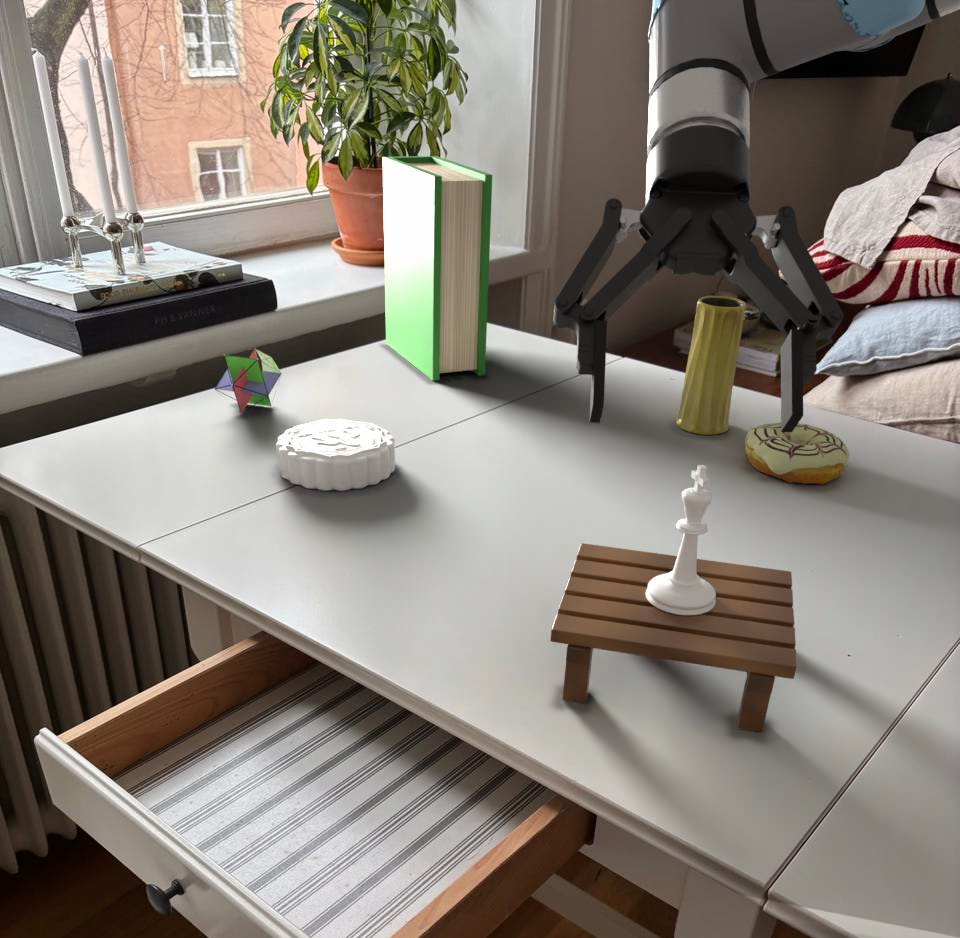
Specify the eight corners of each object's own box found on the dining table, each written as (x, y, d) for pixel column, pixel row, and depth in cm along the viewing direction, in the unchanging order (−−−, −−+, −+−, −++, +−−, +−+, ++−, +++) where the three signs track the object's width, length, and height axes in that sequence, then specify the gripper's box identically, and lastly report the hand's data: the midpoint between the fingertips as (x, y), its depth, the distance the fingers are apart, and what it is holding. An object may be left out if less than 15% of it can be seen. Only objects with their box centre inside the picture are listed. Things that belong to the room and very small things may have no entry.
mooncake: (304, 501, 95) (302, 466, 93) (261, 458, 104) (258, 425, 102) (415, 478, 100) (415, 445, 98) (365, 439, 109) (364, 408, 107)
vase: (698, 413, 120) (717, 292, 112) (739, 428, 116) (761, 303, 108) (665, 423, 116) (682, 299, 109) (706, 439, 112) (727, 311, 105)
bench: (777, 631, 78) (791, 569, 75) (780, 737, 66) (797, 669, 63) (575, 601, 80) (581, 540, 78) (544, 698, 69) (550, 631, 66)
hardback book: (484, 375, 130) (492, 174, 117) (432, 380, 127) (434, 176, 114) (434, 339, 143) (435, 155, 130) (385, 343, 141) (382, 156, 128)
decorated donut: (774, 492, 100) (781, 457, 98) (724, 453, 109) (729, 420, 107) (863, 483, 103) (871, 449, 101) (807, 446, 112) (814, 413, 110)
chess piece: (663, 619, 68) (684, 484, 62) (634, 585, 72) (651, 455, 66) (728, 611, 69) (754, 477, 64) (695, 577, 73) (717, 449, 68)
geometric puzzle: (255, 407, 110) (270, 338, 111) (199, 400, 112) (214, 332, 112) (280, 427, 117) (293, 362, 118) (227, 420, 119) (241, 356, 119)
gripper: (849, 195, 77) (855, 449, 72) (529, 182, 78) (514, 433, 73) (886, 125, 70) (895, 403, 65) (532, 112, 70) (516, 385, 66)
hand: (694, 419), depth 69 cm, fingers open, 13 cm apart
